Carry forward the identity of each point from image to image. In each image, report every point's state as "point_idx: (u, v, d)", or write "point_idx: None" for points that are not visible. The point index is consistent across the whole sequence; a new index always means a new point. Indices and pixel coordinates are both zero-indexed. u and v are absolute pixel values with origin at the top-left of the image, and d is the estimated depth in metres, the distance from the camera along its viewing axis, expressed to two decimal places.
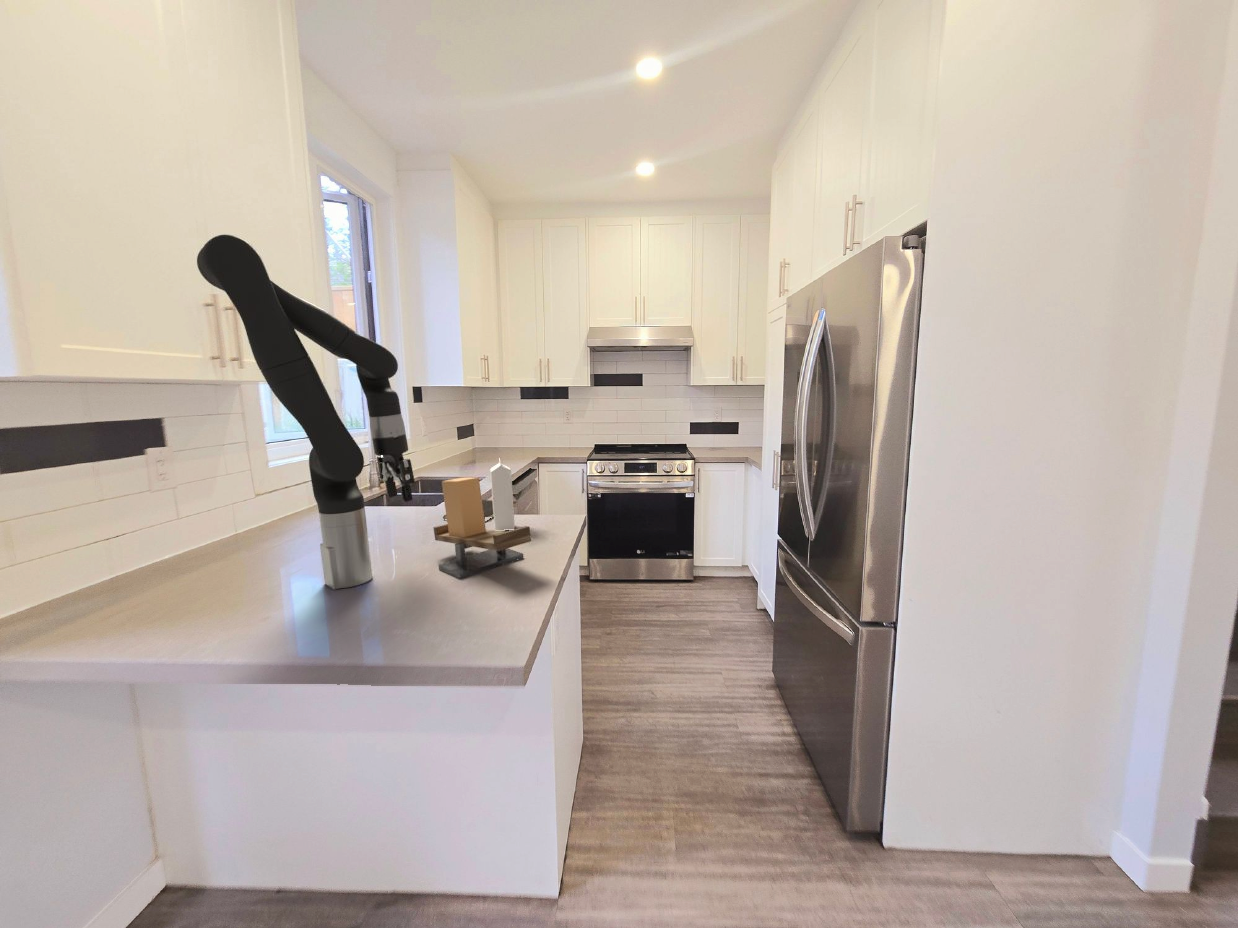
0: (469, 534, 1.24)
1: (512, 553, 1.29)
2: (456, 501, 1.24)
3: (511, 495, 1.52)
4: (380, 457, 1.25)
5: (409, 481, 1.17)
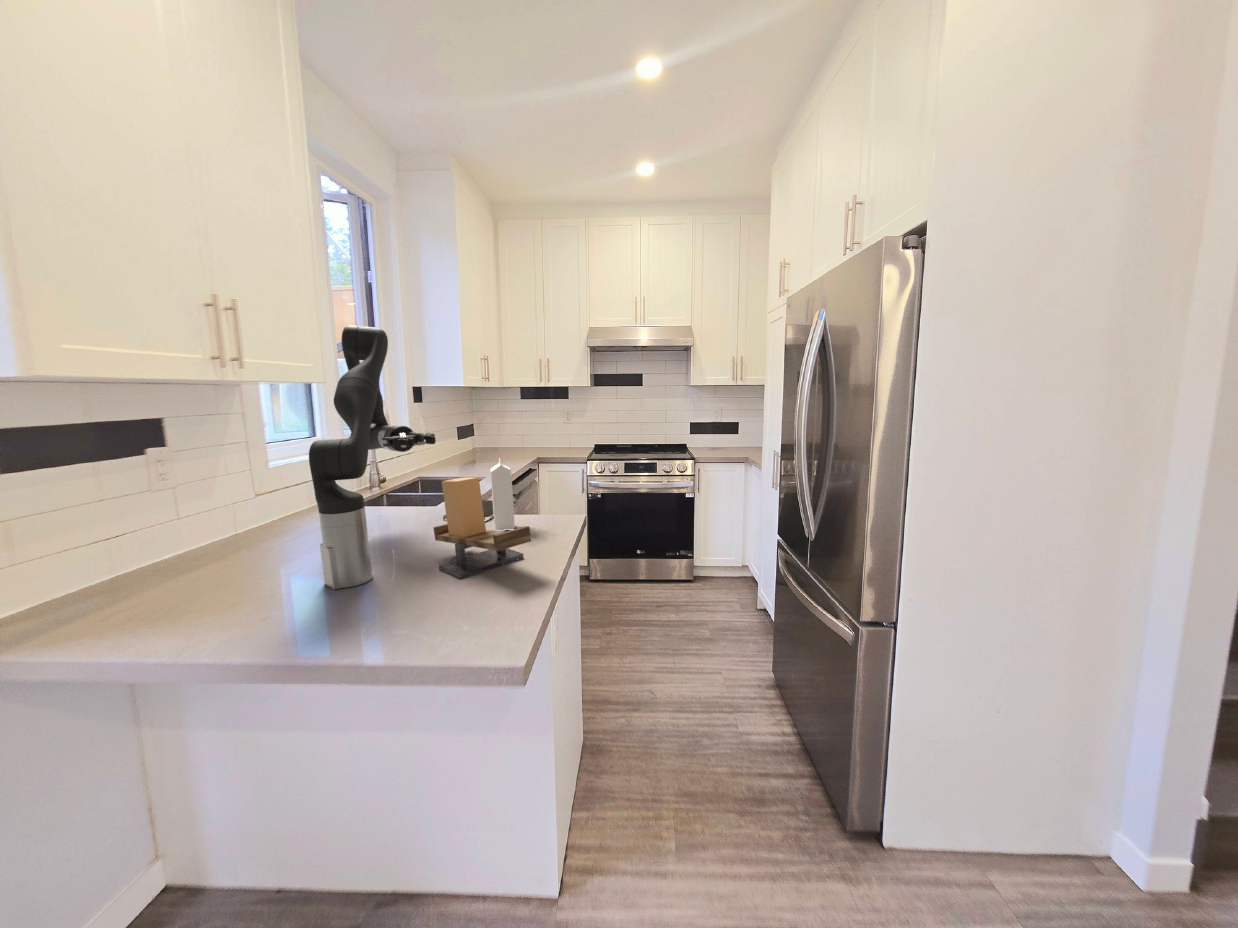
0: (469, 534, 1.24)
1: (512, 553, 1.29)
2: (456, 501, 1.24)
3: (511, 495, 1.52)
4: None
5: None
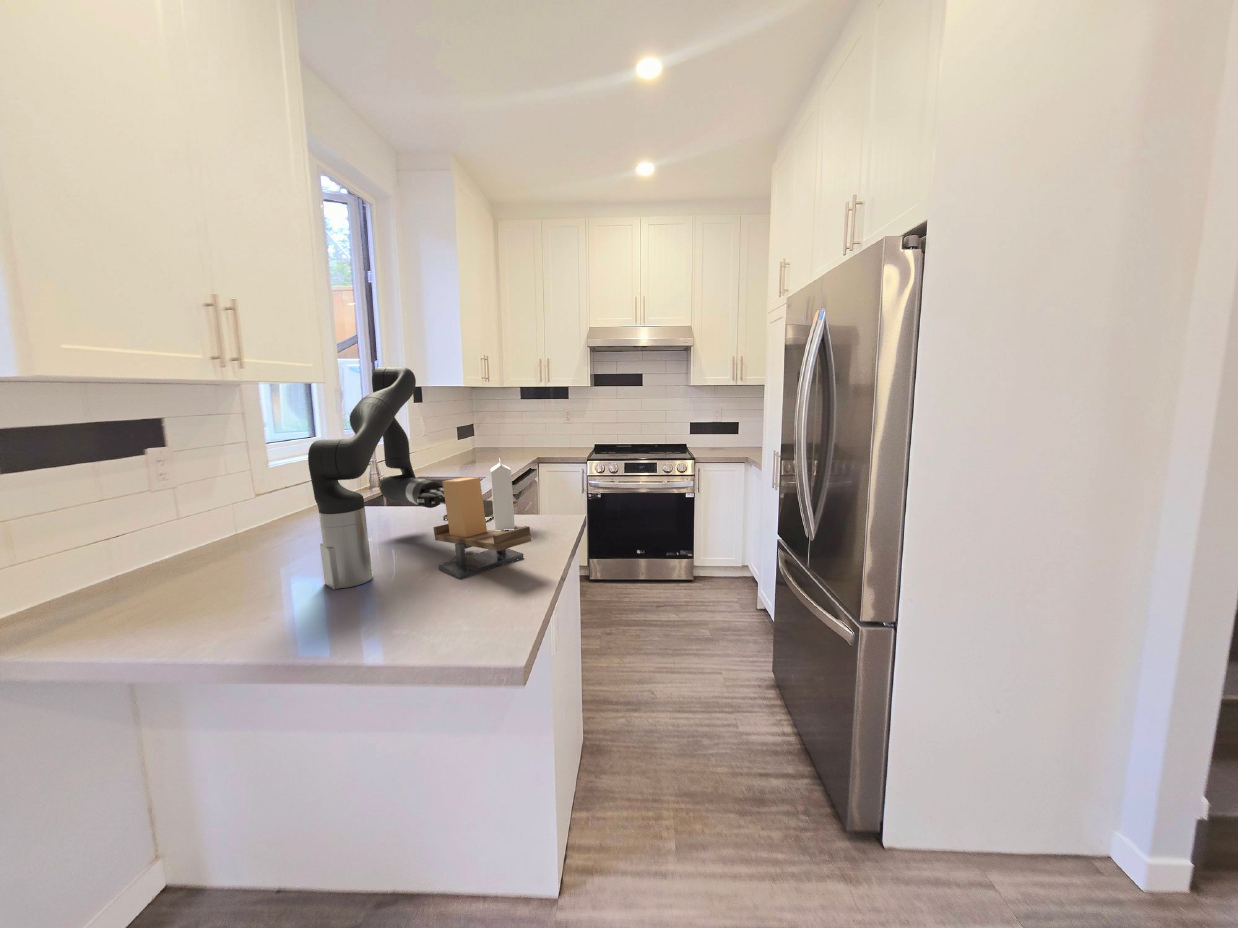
0: (470, 534, 1.24)
1: (512, 553, 1.29)
2: (457, 501, 1.23)
3: (511, 495, 1.52)
4: None
5: None
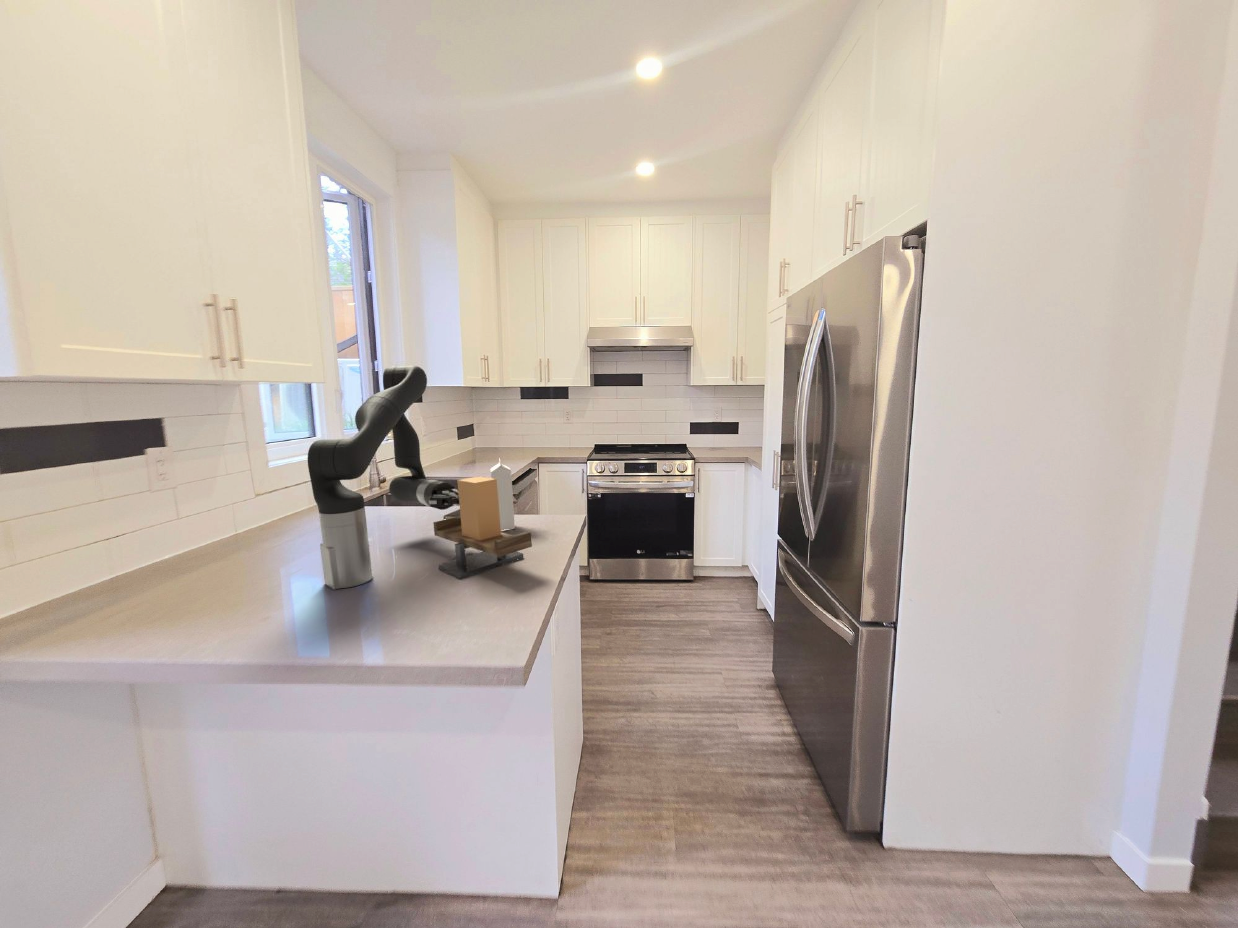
0: (484, 537, 1.20)
1: (512, 553, 1.29)
2: (473, 503, 1.19)
3: (511, 495, 1.52)
4: None
5: None
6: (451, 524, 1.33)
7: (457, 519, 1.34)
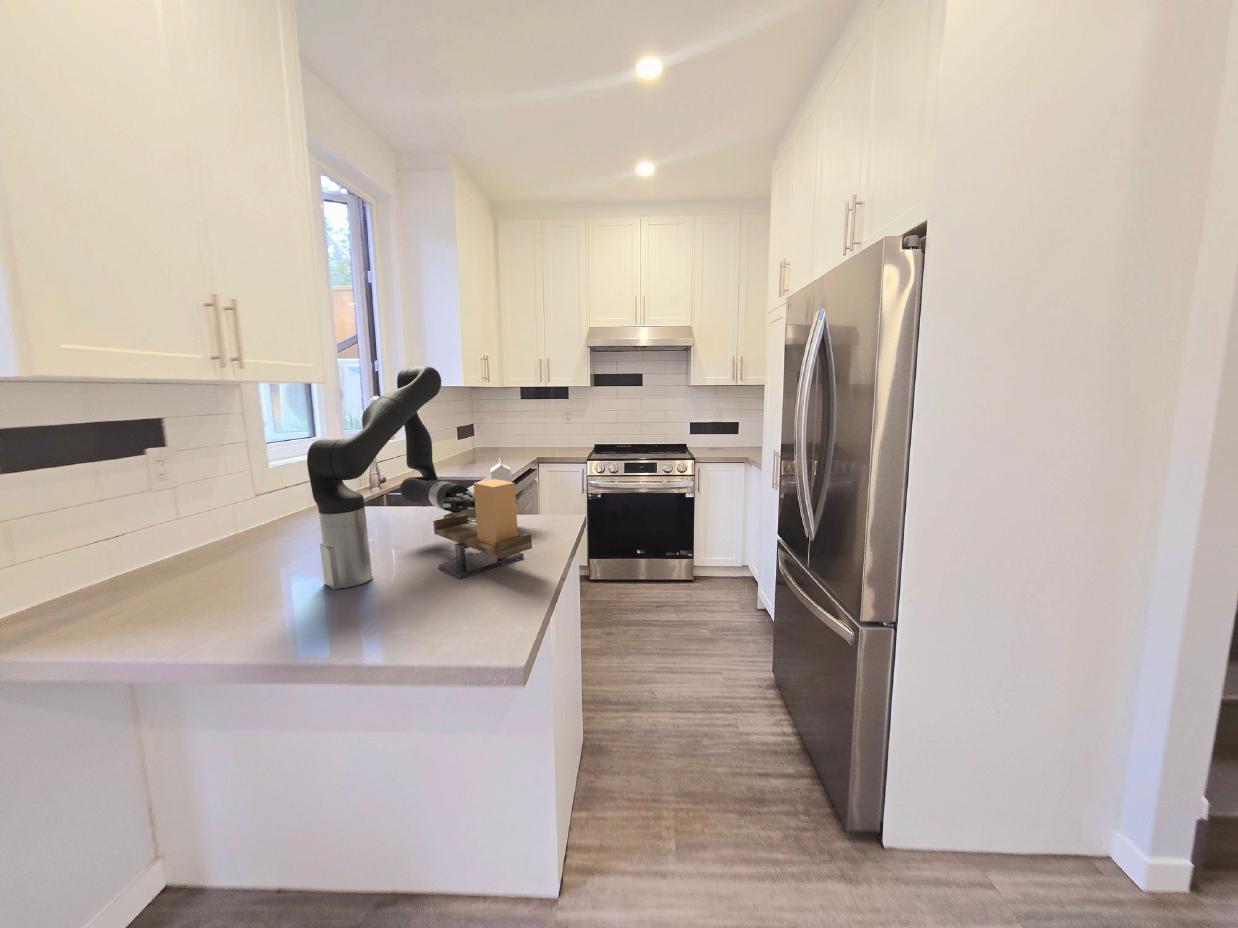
0: None
1: None
2: (490, 507, 1.14)
3: None
4: None
5: None
6: (451, 523, 1.33)
7: (457, 518, 1.34)
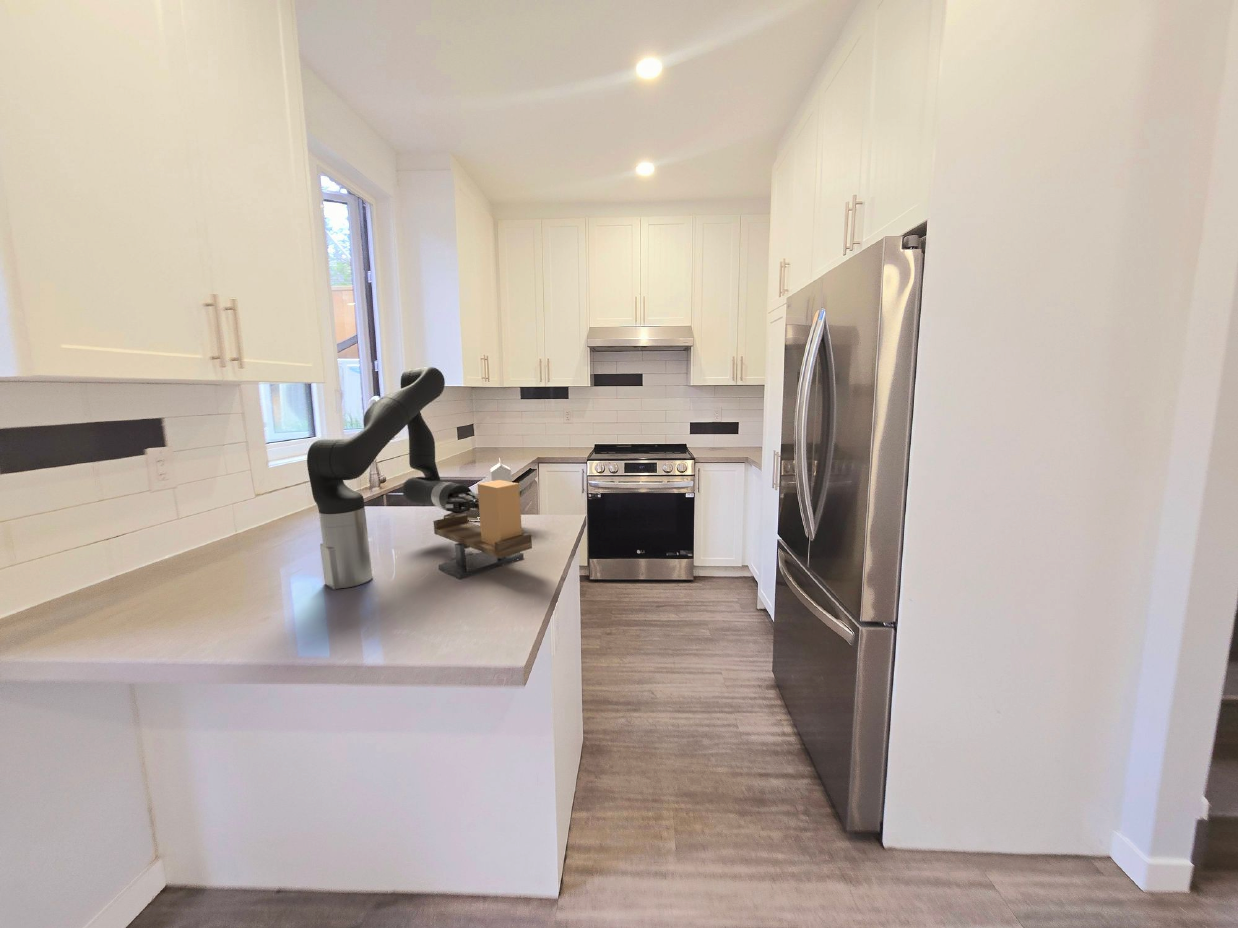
0: None
1: None
2: (494, 509, 1.13)
3: None
4: None
5: None
6: (451, 523, 1.33)
7: (457, 518, 1.34)
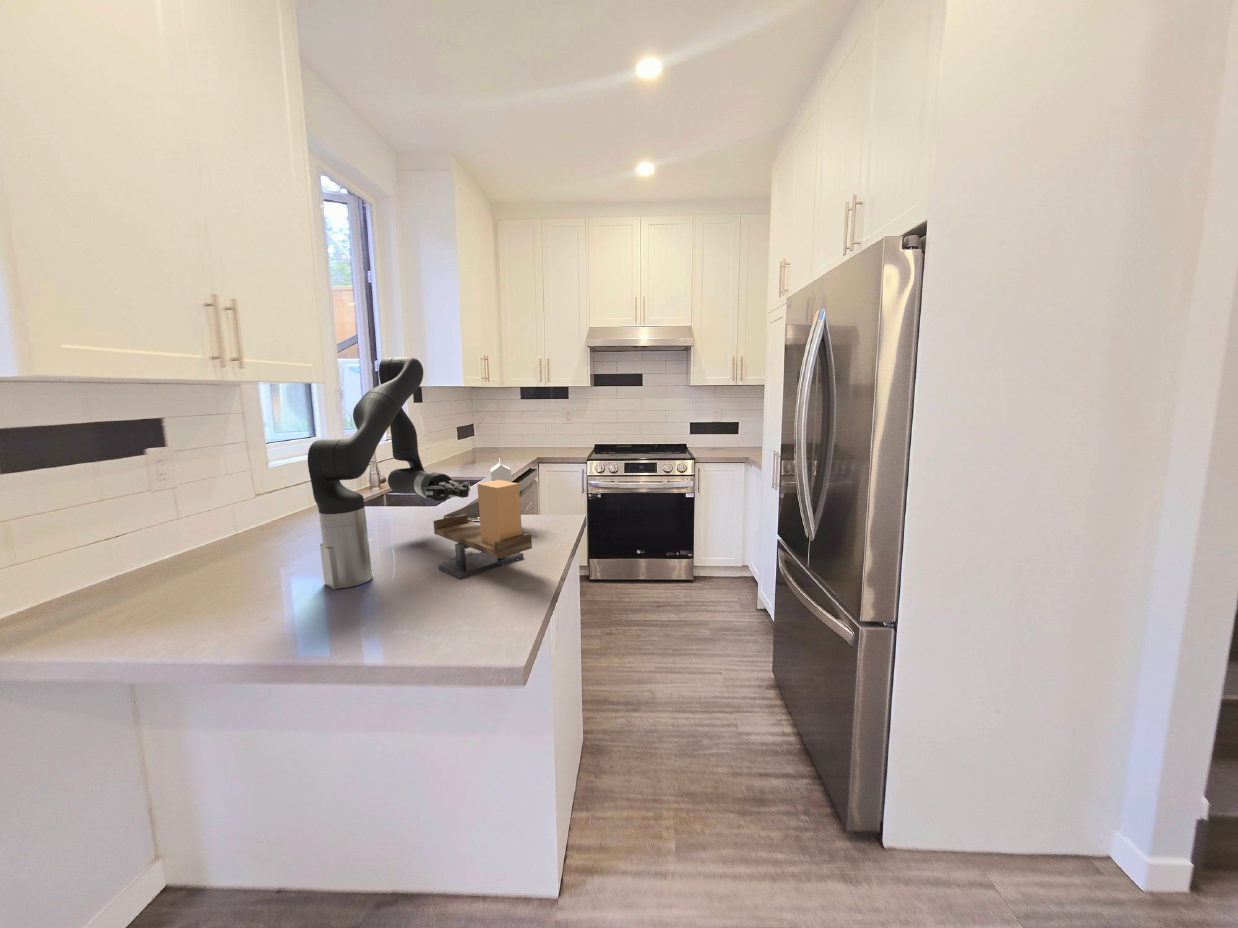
0: None
1: None
2: (494, 509, 1.13)
3: None
4: None
5: None
6: (451, 523, 1.33)
7: (457, 518, 1.34)
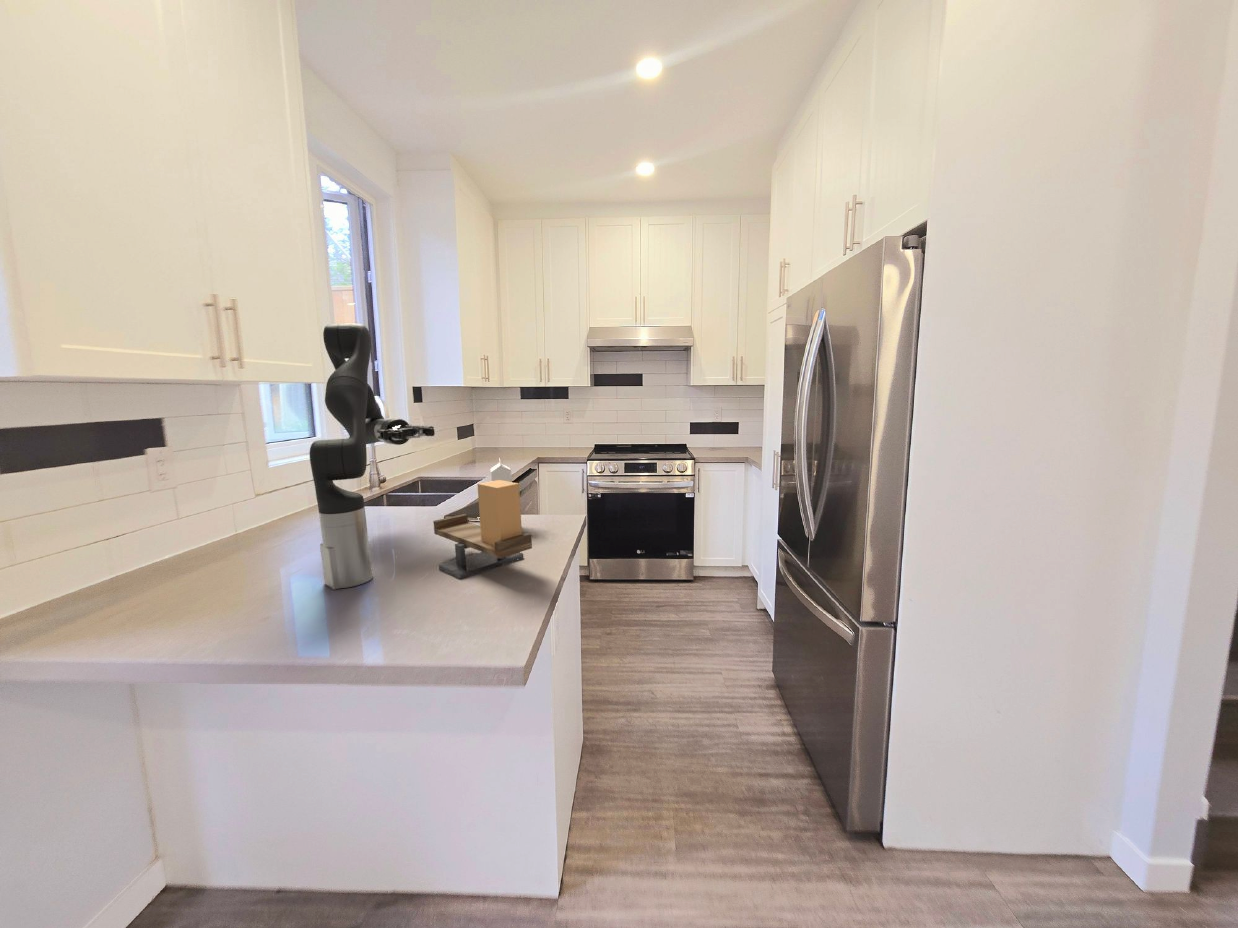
0: None
1: None
2: (494, 509, 1.13)
3: None
4: None
5: None
6: (451, 523, 1.33)
7: (457, 518, 1.34)
